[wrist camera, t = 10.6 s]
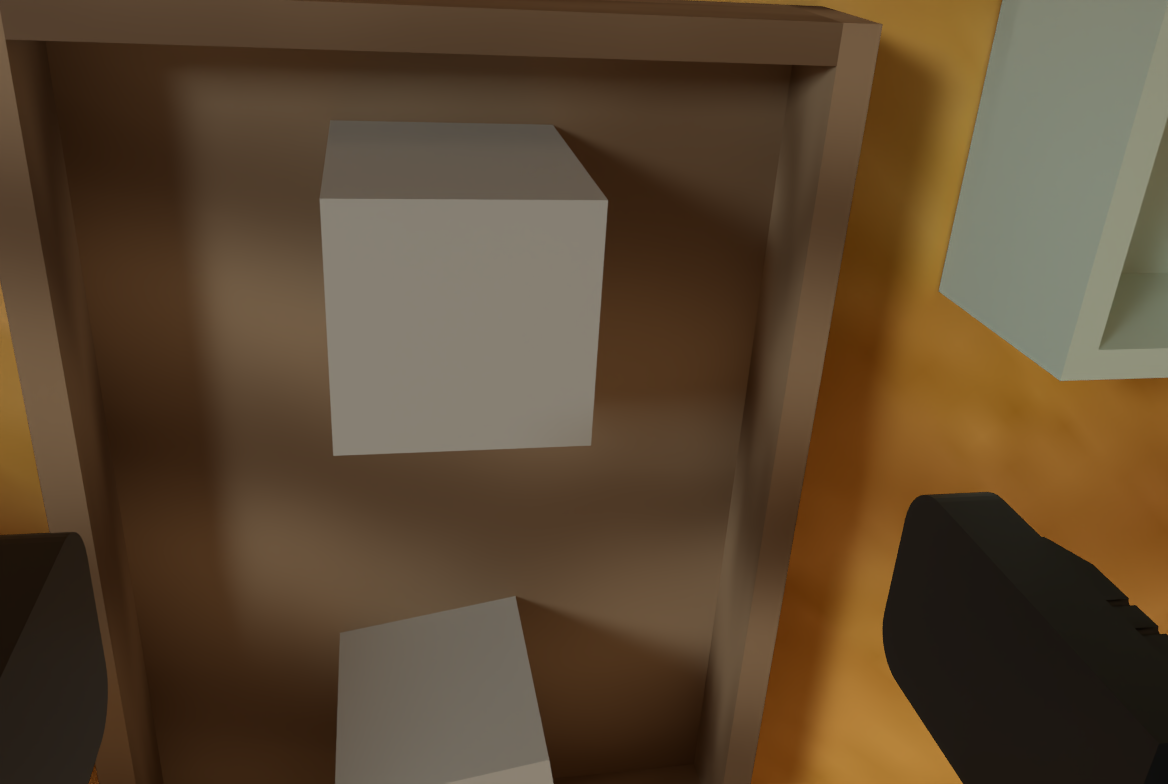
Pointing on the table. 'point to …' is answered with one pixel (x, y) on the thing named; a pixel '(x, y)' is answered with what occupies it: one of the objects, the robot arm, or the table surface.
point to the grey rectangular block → (459, 287)
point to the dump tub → (1070, 189)
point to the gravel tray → (423, 479)
